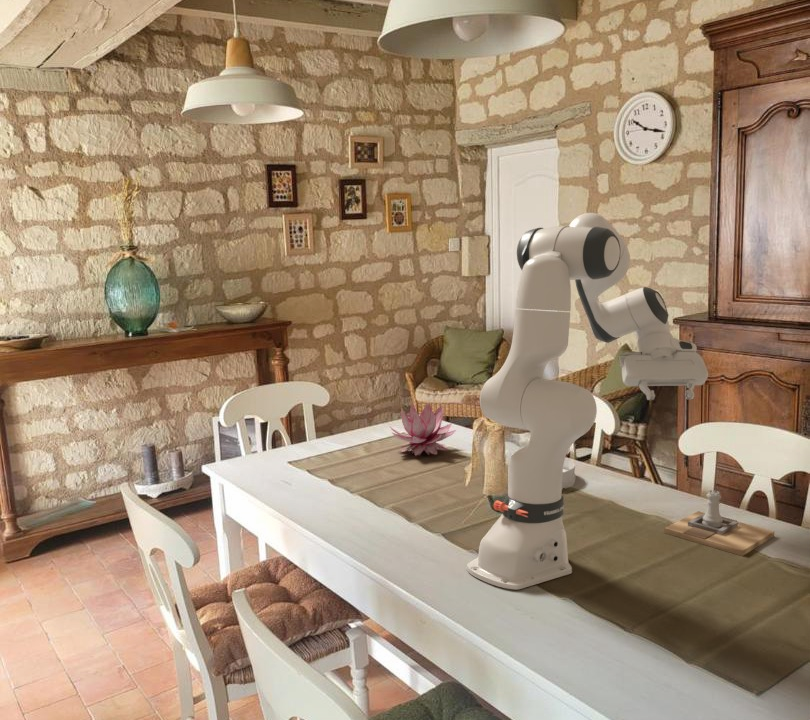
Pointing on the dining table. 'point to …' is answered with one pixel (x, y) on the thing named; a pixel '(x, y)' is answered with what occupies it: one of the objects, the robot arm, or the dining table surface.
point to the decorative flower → (424, 430)
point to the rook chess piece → (713, 510)
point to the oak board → (720, 534)
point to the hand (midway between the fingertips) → (671, 398)
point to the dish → (568, 473)
